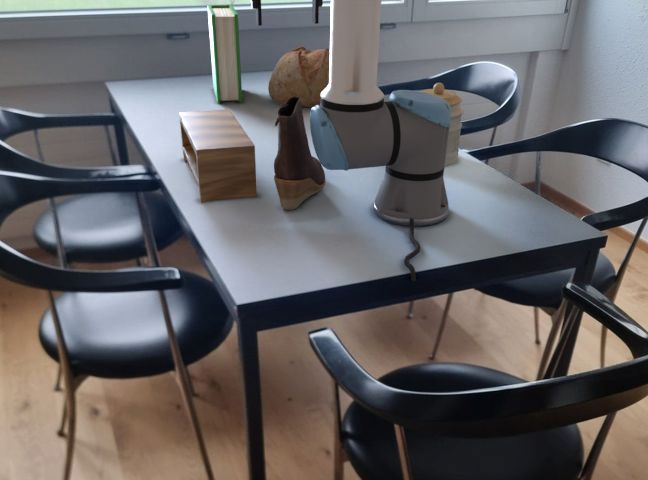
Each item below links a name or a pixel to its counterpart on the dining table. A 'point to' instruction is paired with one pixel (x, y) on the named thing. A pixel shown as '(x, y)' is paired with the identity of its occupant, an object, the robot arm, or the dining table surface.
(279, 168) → the boot
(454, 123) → the jar
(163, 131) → the dining table surface
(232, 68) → the hardback book
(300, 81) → the bread
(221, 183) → the shoe rack
